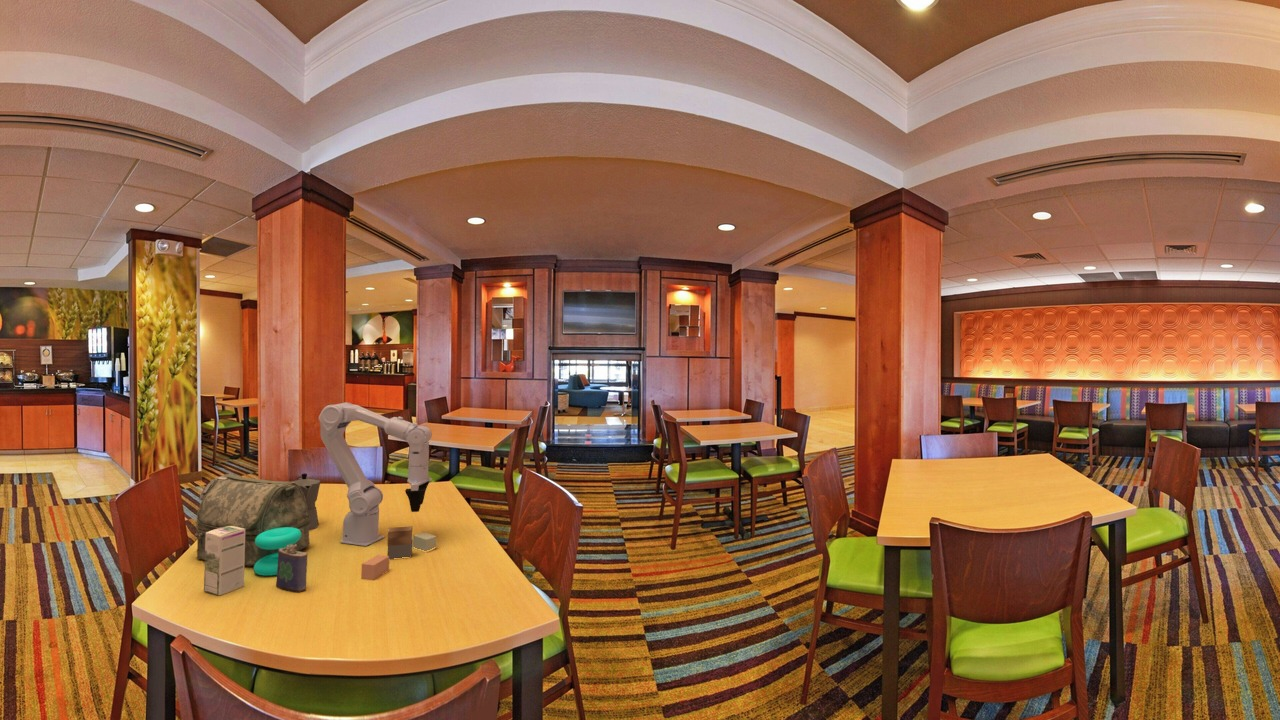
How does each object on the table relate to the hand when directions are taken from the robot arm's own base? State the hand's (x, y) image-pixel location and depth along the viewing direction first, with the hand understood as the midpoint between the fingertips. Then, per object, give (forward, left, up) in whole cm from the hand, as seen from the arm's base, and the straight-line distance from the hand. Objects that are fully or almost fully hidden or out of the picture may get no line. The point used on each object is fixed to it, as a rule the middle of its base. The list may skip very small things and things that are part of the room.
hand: (417, 507), depth 153 cm
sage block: (+6, -5, -11) cm, 13 cm away
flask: (-9, -36, -11) cm, 38 cm away
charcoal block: (+3, -12, -11) cm, 16 cm away
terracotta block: (+5, -24, -11) cm, 26 cm away
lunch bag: (-37, -22, -11) cm, 44 cm away
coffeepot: (-43, -1, -11) cm, 44 cm away
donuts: (-21, -28, -11) cm, 37 cm away
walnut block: (+3, -12, -7) cm, 14 cm away
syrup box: (-23, -41, -11) cm, 48 cm away
